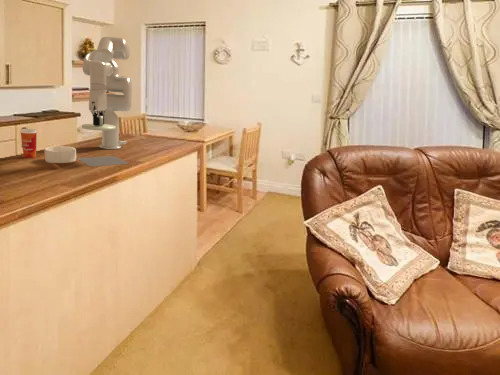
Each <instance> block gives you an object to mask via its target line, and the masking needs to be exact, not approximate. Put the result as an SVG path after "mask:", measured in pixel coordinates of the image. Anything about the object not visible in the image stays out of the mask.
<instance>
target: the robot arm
mask: <svg viewBox="0 0 500 375" xmlns="http://www.w3.org/2000/svg"><path fill="white" fill-rule="evenodd" d="M130 53H131V51H130V47H129V45H128V42H127V41H126V39H124V38H122V37H115V36H104V37H101V38H100V40H99V42H98V46H97V48H96V49H94V50H93V51H90V52H89V53H87V54H86V55H85V56H84V58H83V62H82V72H83V73H84V75H86V76H89V80H90V81H89V82H90V83H89V84H90V85H89V87H90V88H89V89H90V90H89V96H88V97H89V98H88V110H89V111H90V113H91V115H92V124H93V125H98V126H99V125H100V117H99V115H100V116H103V124H108V125H114V126H116V129H114V130H101V137H102V138H101V144H99V148H100V149H105V150H119V149H121V148H122V145H127V140H120V139H119V138H120V135H119V134H120V132H119V131H120V129H119V127H120V126H119V125H120V123H119V122H120V121H119V116H118V115H117V114H116V112H129V111H131V109H132V90H133V88H132V86H133V85H132V81H131V78H130V77H128V76H125V75H123V76H122V75H119V74H120V72H119V71H120V70H119V69H120V68H119V66H118V64H117V62H116V61H115V60H122V61H123V60H124V61H126V60H128V59H129V58H130ZM107 92H110V93H107ZM112 93H113V94H112ZM115 93H120V94H115Z"/></svg>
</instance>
